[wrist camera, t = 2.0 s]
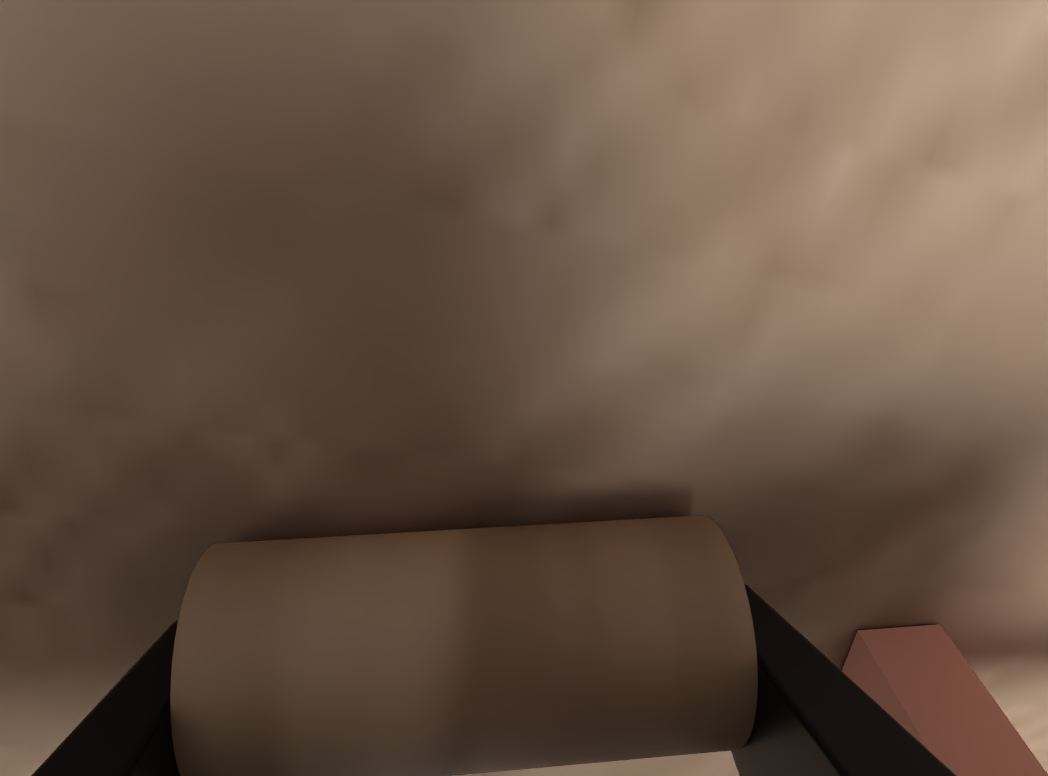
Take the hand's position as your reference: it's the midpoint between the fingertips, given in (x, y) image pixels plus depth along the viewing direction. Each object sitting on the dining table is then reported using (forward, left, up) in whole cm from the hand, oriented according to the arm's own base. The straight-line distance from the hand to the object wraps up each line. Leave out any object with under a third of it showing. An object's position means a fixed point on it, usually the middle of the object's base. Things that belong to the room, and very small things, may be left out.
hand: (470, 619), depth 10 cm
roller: (0, 0, -1) cm, 1 cm away
